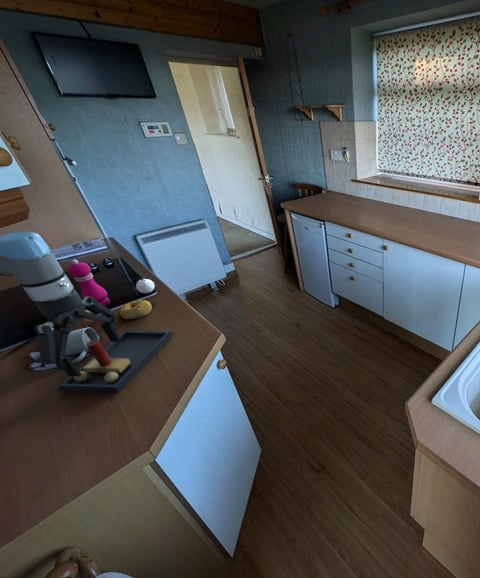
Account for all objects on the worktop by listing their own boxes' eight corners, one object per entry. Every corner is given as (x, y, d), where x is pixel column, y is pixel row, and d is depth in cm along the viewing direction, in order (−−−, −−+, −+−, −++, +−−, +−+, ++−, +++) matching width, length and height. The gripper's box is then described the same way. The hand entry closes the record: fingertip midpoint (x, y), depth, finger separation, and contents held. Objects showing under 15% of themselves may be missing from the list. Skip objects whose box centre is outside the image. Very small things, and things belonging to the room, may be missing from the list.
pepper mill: (110, 306, 117) (83, 261, 106) (86, 311, 113) (57, 265, 103) (113, 297, 122) (88, 254, 111) (90, 302, 119) (63, 258, 108)
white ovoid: (140, 297, 122) (131, 281, 118) (139, 291, 126) (131, 275, 122) (157, 293, 125) (149, 277, 121) (156, 287, 129) (149, 271, 125)
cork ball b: (100, 374, 82) (112, 367, 84) (102, 381, 83) (114, 374, 86) (108, 380, 81) (120, 373, 84) (110, 386, 83) (121, 379, 85)
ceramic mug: (71, 346, 97) (58, 328, 93) (102, 340, 100) (90, 322, 96) (55, 369, 89) (40, 350, 85) (89, 361, 92) (76, 343, 87)
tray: (63, 391, 82) (58, 385, 81) (127, 335, 102) (124, 330, 101) (118, 392, 82) (114, 387, 81) (172, 336, 102) (169, 331, 101)
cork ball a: (84, 383, 85) (70, 383, 82) (85, 372, 86) (72, 372, 83) (90, 380, 84) (76, 380, 81) (91, 369, 85) (78, 369, 82)
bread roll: (67, 332, 108) (43, 321, 102) (93, 310, 113) (71, 299, 106) (76, 342, 104) (51, 332, 98) (102, 319, 108) (80, 308, 102)
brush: (88, 375, 86) (67, 347, 80) (99, 365, 89) (80, 337, 84) (122, 375, 86) (104, 347, 80) (132, 365, 89) (115, 338, 84)
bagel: (153, 302, 120) (148, 292, 117) (153, 316, 112) (148, 306, 109) (123, 309, 115) (117, 299, 112) (120, 324, 107) (114, 314, 105)
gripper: (14, 326, 62) (69, 393, 73) (110, 271, 83) (141, 329, 94) (-21, 326, 62) (39, 392, 73) (84, 270, 83) (118, 328, 94)
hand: (97, 357), depth 83 cm, fingers open, 13 cm apart
